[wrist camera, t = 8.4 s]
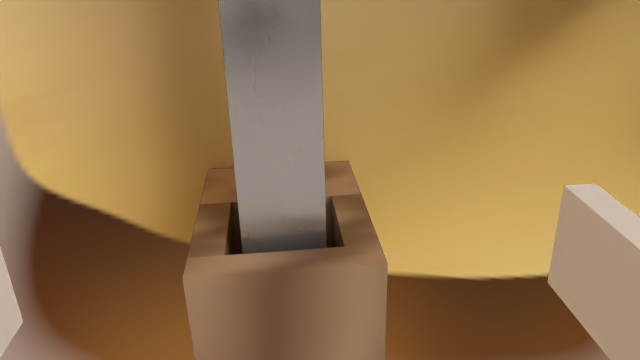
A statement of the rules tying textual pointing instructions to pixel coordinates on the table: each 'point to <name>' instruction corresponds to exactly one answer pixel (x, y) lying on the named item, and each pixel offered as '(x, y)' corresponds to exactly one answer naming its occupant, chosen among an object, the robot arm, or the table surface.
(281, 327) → the socket
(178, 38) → the table surface
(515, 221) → the table surface
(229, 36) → the orange-tipped grey stick
